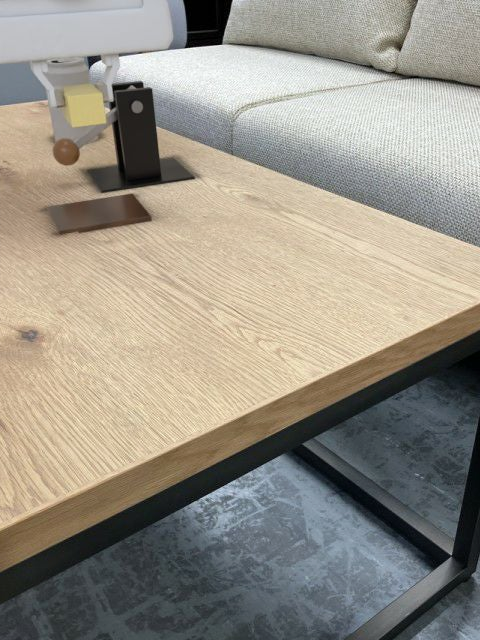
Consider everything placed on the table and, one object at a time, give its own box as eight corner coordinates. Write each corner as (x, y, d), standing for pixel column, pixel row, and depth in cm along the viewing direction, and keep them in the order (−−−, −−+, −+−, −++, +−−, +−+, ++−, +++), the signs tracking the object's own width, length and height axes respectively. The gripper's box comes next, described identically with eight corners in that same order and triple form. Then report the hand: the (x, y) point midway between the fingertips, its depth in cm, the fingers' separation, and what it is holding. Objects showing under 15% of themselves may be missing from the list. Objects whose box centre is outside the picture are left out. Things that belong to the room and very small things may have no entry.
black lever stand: (102, 200, 86) (86, 99, 79) (87, 178, 93) (71, 84, 86) (195, 185, 90) (188, 88, 83) (174, 166, 97) (165, 75, 90)
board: (61, 244, 75) (58, 230, 74) (49, 219, 81) (46, 206, 80) (152, 228, 78) (150, 215, 77) (133, 205, 84) (132, 193, 83)
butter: (72, 127, 71) (66, 96, 69) (63, 116, 74) (57, 86, 73) (106, 123, 72) (102, 92, 70) (96, 112, 76) (91, 83, 74)
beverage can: (49, 144, 106) (32, 58, 99) (87, 136, 110) (74, 53, 103) (67, 153, 102) (52, 65, 95) (107, 145, 105) (94, 59, 99)
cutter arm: (67, 174, 85) (49, 152, 83) (62, 166, 88) (44, 146, 86) (151, 108, 86) (135, 86, 83) (144, 103, 88) (128, 81, 86)
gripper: (155, -58, 70) (169, 87, 78) (-64, -51, 63) (-24, 108, 71) (174, -56, 66) (187, 99, 73) (-60, -48, 59) (-19, 122, 66)
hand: (81, 104), depth 72 cm, fingers closed on butter, 3 cm apart
